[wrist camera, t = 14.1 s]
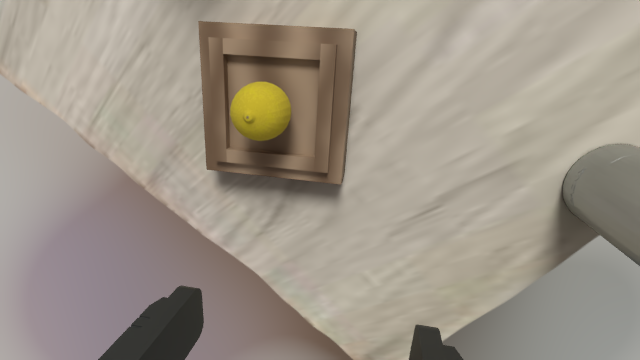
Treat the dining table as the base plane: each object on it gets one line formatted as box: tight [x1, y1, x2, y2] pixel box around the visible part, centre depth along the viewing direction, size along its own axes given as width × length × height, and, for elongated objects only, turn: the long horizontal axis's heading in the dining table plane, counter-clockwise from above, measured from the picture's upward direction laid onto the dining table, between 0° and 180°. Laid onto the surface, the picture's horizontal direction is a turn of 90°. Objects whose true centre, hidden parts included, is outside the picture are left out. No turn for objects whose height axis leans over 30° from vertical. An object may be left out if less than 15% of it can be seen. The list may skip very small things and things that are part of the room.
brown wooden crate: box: [198, 21, 357, 184], centre depth 38 cm, size 16×16×5 cm
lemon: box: [230, 82, 291, 141], centre depth 33 cm, size 6×6×8 cm
